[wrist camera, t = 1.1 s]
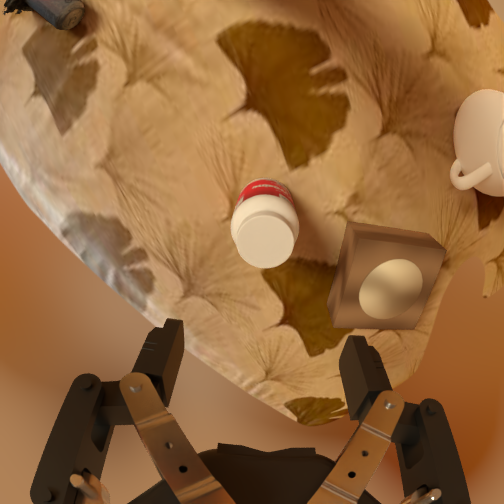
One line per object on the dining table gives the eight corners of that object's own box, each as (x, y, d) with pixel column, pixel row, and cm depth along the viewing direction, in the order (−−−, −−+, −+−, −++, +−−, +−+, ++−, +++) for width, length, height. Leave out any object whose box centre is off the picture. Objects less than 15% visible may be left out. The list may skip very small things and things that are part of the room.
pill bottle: (301, 191, 33) (318, 228, 23) (276, 236, 36) (281, 287, 26) (252, 167, 32) (246, 193, 22) (229, 214, 35) (214, 258, 25)
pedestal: (347, 221, 34) (359, 239, 30) (428, 233, 35) (447, 250, 30) (326, 303, 40) (333, 328, 35) (401, 308, 40) (414, 330, 35)
